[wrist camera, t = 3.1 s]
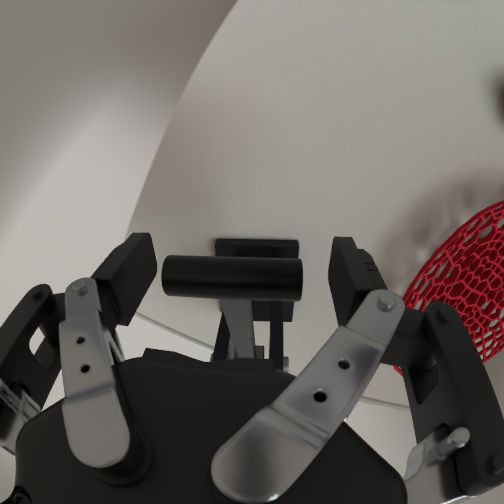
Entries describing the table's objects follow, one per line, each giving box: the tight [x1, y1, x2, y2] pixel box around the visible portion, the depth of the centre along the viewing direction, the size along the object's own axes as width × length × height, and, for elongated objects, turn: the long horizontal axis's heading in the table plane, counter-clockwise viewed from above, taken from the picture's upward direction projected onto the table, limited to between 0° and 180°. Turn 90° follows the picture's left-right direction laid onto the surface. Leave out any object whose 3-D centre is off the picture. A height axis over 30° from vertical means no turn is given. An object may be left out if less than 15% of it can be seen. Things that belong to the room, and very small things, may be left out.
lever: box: [161, 255, 303, 359], centre depth 16 cm, size 15×5×2 cm, turn 1°
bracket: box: [210, 239, 299, 373], centre depth 25 cm, size 10×8×13 cm
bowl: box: [393, 200, 504, 376], centre depth 26 cm, size 29×30×5 cm
